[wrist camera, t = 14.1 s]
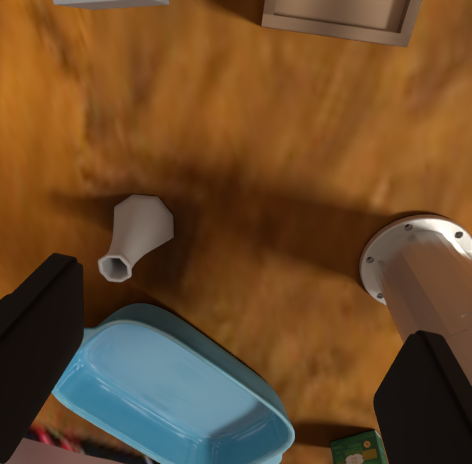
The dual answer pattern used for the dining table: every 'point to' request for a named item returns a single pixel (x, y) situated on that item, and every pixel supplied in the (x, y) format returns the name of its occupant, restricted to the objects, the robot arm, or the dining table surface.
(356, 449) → the coffee box
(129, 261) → the flask
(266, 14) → the walnut tray
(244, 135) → the dining table surface
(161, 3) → the slate block
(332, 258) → the dining table surface
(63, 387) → the casserole dish
